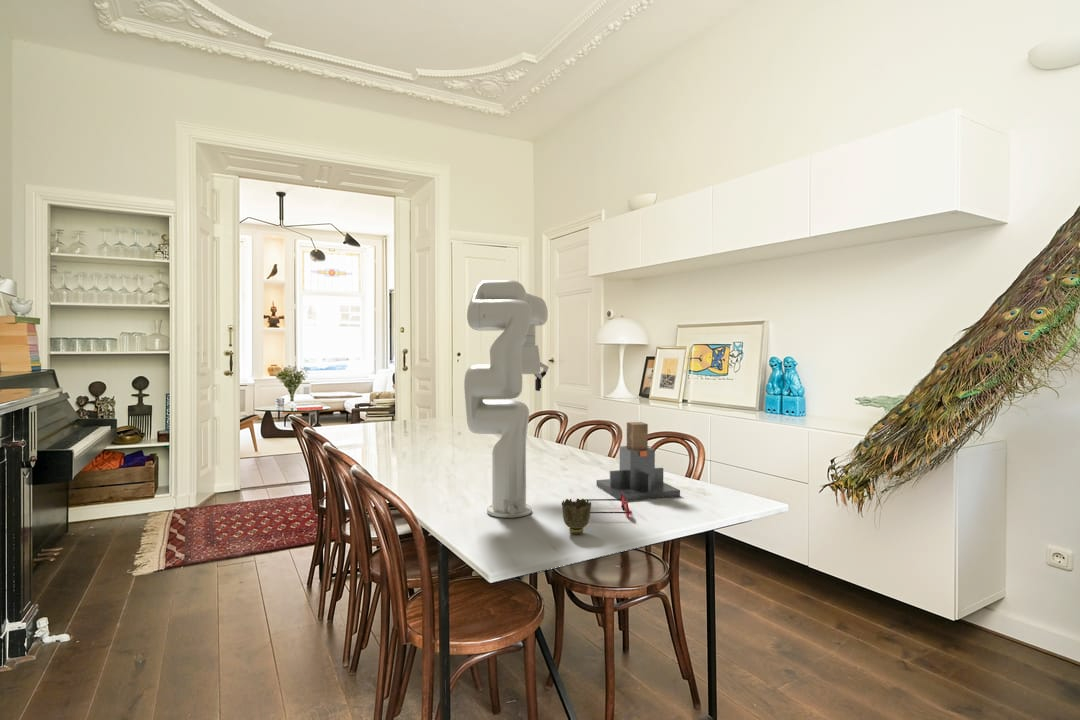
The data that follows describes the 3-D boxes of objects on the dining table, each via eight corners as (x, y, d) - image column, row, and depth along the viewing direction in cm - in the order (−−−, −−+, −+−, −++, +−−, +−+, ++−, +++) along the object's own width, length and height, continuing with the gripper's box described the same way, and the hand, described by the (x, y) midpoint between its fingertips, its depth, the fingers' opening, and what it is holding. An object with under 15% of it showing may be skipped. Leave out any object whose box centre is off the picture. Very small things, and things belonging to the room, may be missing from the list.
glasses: (632, 522, 162) (632, 503, 162) (571, 522, 162) (571, 503, 162) (624, 508, 176) (624, 491, 176) (568, 508, 176) (568, 491, 176)
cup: (589, 528, 155) (589, 497, 155) (592, 537, 148) (593, 505, 147) (560, 528, 155) (560, 498, 155) (562, 538, 147) (562, 505, 147)
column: (647, 483, 192) (647, 423, 192) (632, 484, 191) (633, 424, 190) (640, 479, 197) (640, 421, 196) (626, 480, 196) (626, 422, 195)
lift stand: (680, 496, 187) (680, 451, 187) (620, 501, 182) (620, 455, 181) (650, 482, 206) (651, 441, 206) (596, 486, 201) (596, 444, 200)
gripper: (502, 341, 200) (502, 392, 200) (551, 341, 205) (551, 391, 206) (497, 341, 207) (497, 390, 207) (544, 341, 212) (544, 389, 213)
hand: (524, 391), depth 206 cm, fingers open, 9 cm apart
